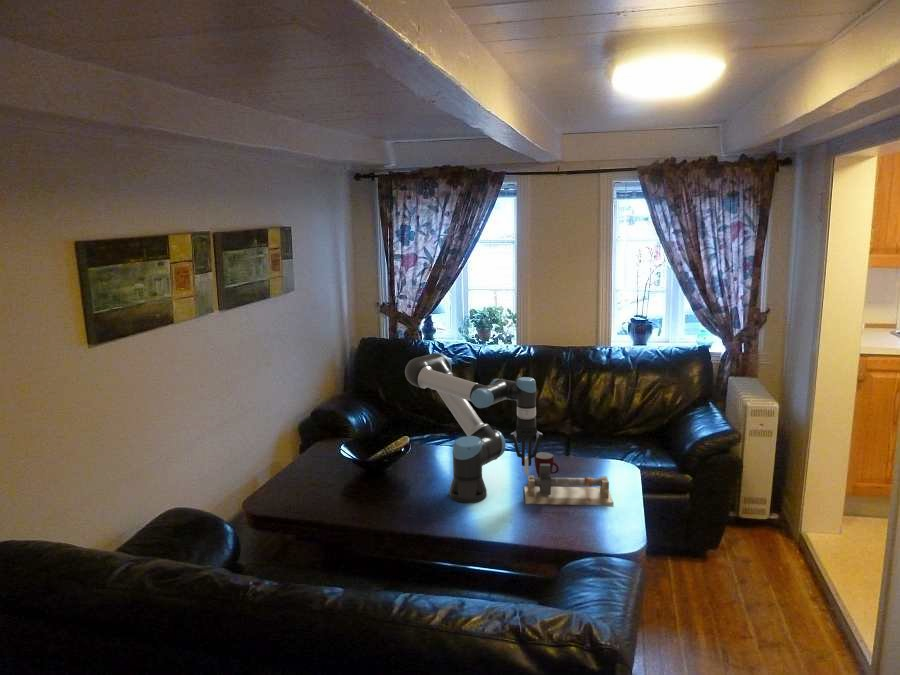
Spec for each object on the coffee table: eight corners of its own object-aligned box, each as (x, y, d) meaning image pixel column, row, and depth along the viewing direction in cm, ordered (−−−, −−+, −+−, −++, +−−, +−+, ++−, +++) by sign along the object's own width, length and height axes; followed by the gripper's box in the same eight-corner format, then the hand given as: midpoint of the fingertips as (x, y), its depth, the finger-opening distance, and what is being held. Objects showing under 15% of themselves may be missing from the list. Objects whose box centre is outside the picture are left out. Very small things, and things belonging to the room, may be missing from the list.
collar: (540, 494, 251) (540, 468, 249) (539, 486, 259) (539, 461, 257) (550, 494, 251) (550, 468, 249) (549, 486, 259) (549, 461, 257)
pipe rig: (525, 503, 249) (525, 484, 248) (524, 488, 263) (524, 470, 262) (613, 505, 246) (614, 485, 245) (607, 490, 260) (608, 471, 259)
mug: (560, 475, 276) (560, 453, 274) (557, 482, 268) (557, 460, 267) (536, 473, 279) (536, 451, 278) (532, 480, 272) (532, 457, 270)
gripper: (509, 419, 247) (510, 476, 251) (543, 419, 246) (543, 477, 250) (509, 413, 254) (510, 469, 258) (542, 413, 253) (542, 469, 257)
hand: (526, 473), depth 254 cm, fingers closed
